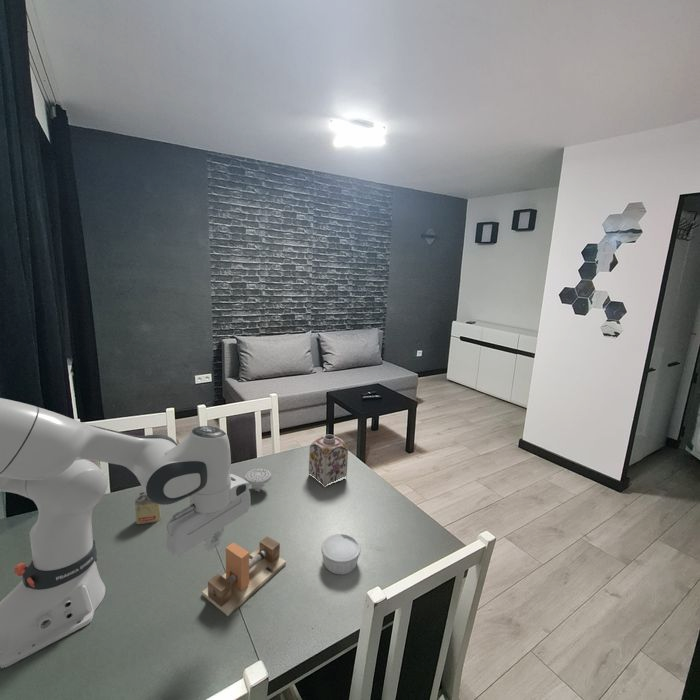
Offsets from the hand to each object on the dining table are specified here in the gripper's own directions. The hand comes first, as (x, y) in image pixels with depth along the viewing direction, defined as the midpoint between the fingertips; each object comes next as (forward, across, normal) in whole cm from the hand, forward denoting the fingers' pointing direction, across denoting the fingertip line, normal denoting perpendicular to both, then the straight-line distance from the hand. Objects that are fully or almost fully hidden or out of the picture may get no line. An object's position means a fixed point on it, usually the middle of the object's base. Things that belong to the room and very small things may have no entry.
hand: (212, 546), depth 85 cm
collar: (+16, +7, 0) cm, 17 cm away
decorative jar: (+18, +64, +14) cm, 68 cm away
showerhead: (+18, +40, +28) cm, 52 cm away
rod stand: (+17, +10, 0) cm, 20 cm away
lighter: (+17, +7, +43) cm, 47 cm away
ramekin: (+18, +30, -17) cm, 39 cm away
